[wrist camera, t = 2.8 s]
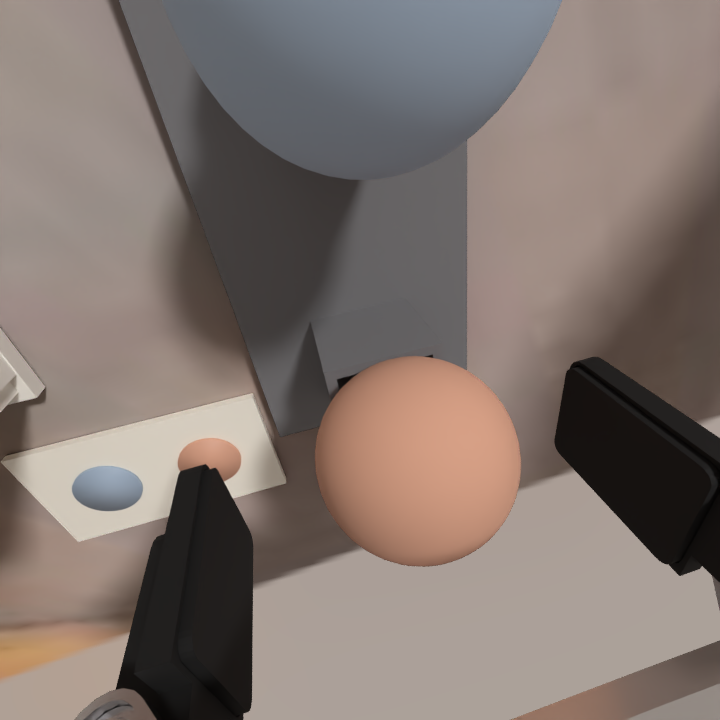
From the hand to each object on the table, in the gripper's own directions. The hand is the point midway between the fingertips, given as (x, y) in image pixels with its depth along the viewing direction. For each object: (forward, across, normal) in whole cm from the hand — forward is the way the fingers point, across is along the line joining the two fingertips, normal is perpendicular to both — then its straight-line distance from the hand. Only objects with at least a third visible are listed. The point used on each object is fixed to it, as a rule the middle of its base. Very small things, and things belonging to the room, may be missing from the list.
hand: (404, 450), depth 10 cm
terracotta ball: (+2, 0, 0) cm, 2 cm away
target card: (+6, +9, +3) cm, 11 cm away
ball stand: (+6, 0, -5) cm, 7 cm away
